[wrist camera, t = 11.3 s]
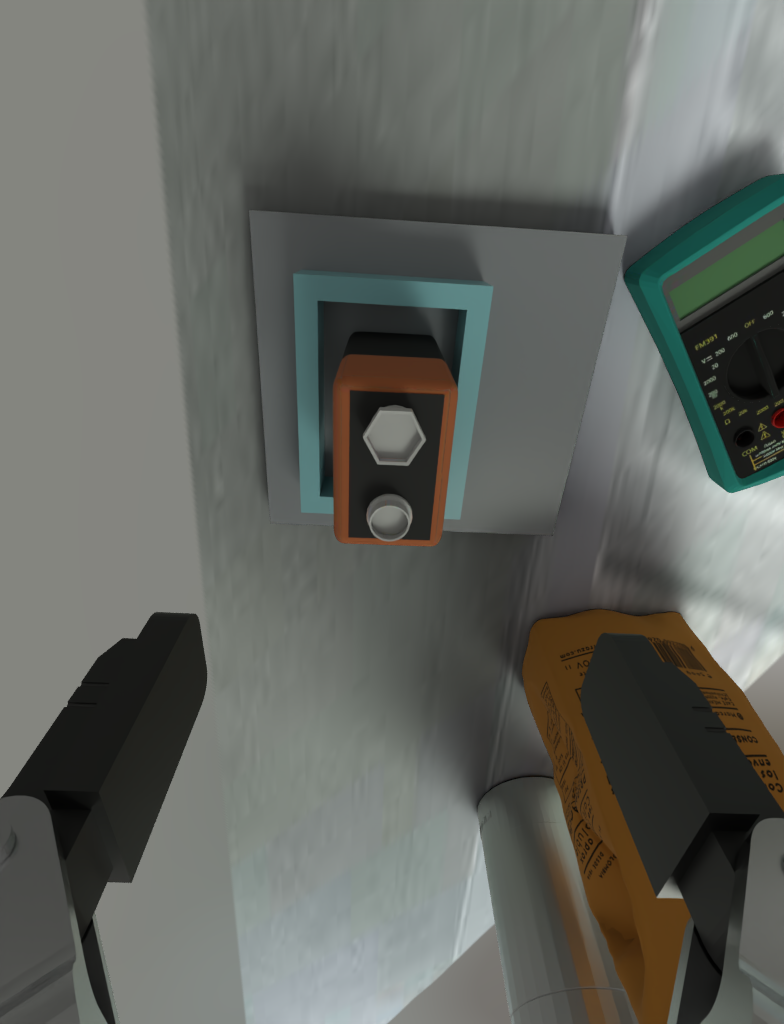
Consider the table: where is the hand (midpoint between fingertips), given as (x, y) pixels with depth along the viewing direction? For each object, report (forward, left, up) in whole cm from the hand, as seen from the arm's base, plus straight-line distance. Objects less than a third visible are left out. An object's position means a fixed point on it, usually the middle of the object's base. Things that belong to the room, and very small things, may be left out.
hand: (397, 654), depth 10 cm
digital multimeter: (-18, -3, -21) cm, 28 cm away
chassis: (-2, 0, -20) cm, 20 cm away
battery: (0, 0, -19) cm, 19 cm away
